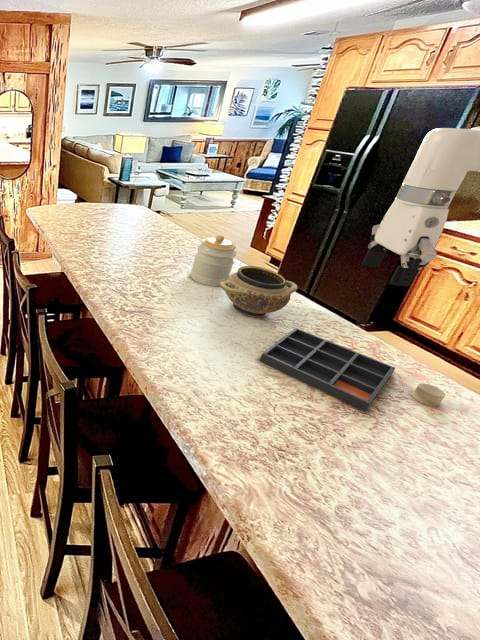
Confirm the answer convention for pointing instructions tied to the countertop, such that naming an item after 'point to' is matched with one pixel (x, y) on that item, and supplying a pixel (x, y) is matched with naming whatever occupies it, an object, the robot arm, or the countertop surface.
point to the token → (428, 394)
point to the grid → (329, 367)
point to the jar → (213, 261)
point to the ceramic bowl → (257, 291)
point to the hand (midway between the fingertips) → (383, 275)
